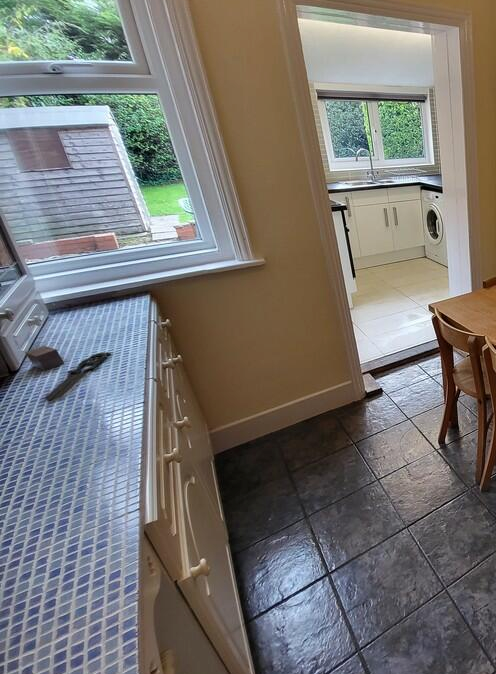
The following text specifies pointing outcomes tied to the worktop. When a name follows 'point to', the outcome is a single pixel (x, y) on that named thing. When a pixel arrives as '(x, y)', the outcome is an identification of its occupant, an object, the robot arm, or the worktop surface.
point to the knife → (74, 373)
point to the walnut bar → (44, 357)
